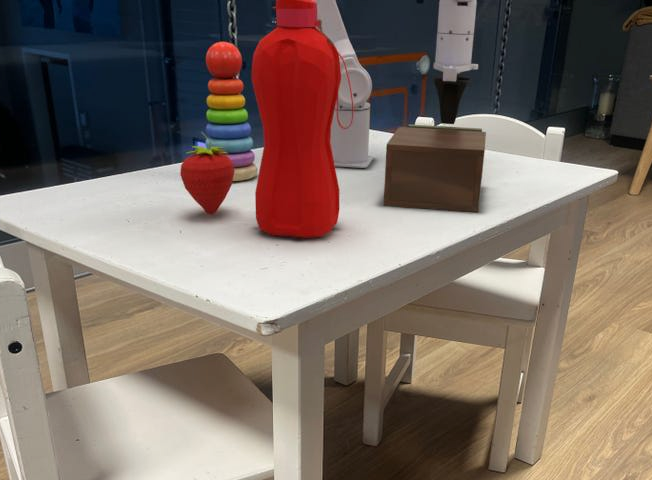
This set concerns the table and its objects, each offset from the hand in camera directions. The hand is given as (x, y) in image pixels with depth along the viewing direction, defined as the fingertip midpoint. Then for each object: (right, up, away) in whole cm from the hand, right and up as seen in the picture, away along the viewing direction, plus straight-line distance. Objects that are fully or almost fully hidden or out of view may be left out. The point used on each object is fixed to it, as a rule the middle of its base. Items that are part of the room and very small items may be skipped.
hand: (448, 123), depth 120 cm
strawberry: (-34, -21, -28) cm, 49 cm away
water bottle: (-22, -24, -33) cm, 46 cm away
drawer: (-2, -10, -8) cm, 13 cm away
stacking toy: (-34, -12, -10) cm, 37 cm away
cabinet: (-4, -16, -17) cm, 24 cm away
